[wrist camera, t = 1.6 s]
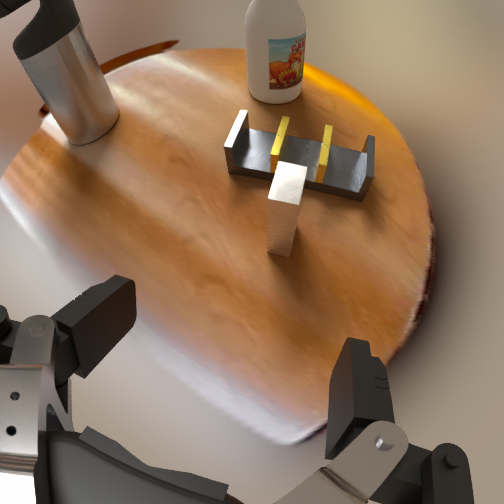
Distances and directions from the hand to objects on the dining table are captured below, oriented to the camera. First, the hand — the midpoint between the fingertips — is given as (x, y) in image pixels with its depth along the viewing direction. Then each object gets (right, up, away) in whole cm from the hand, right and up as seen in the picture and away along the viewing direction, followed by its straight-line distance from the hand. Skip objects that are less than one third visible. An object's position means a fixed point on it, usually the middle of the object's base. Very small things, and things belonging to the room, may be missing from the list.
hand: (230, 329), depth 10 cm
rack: (+6, +13, +23) cm, 27 cm away
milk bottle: (+4, +26, +29) cm, 39 cm away
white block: (+4, +4, +20) cm, 20 cm away
